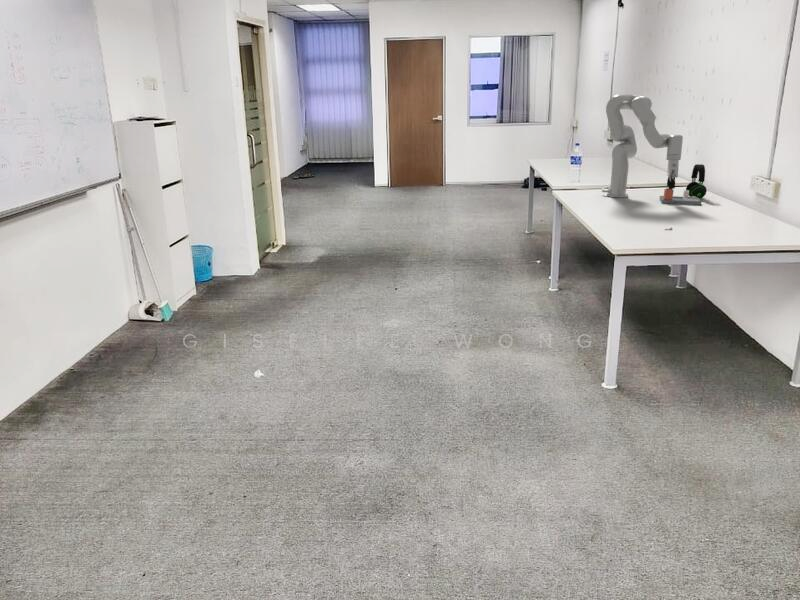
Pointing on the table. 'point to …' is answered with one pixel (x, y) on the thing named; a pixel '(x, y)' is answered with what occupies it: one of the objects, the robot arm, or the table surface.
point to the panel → (682, 200)
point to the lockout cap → (668, 194)
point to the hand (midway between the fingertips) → (670, 187)
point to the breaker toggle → (686, 193)
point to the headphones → (695, 187)
